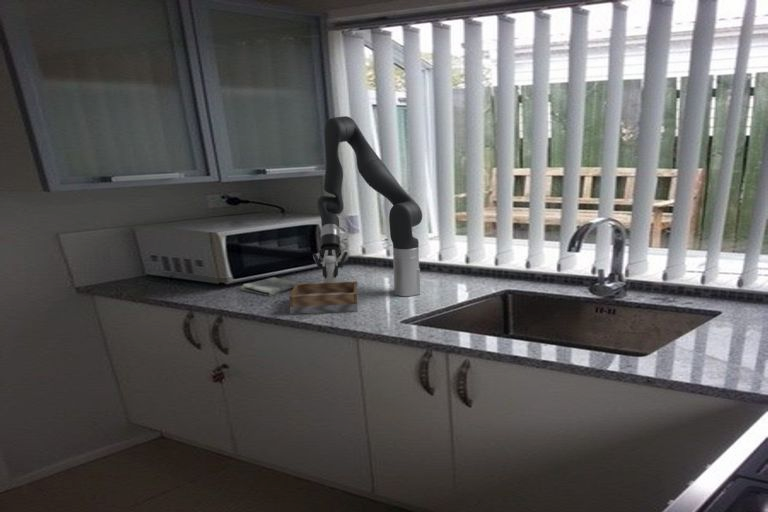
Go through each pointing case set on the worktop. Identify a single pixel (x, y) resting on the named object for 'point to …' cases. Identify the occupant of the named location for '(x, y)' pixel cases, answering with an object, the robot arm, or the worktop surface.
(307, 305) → the bore box
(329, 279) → the salt shaker
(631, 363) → the worktop surface
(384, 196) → the robot arm
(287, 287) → the dish towel
